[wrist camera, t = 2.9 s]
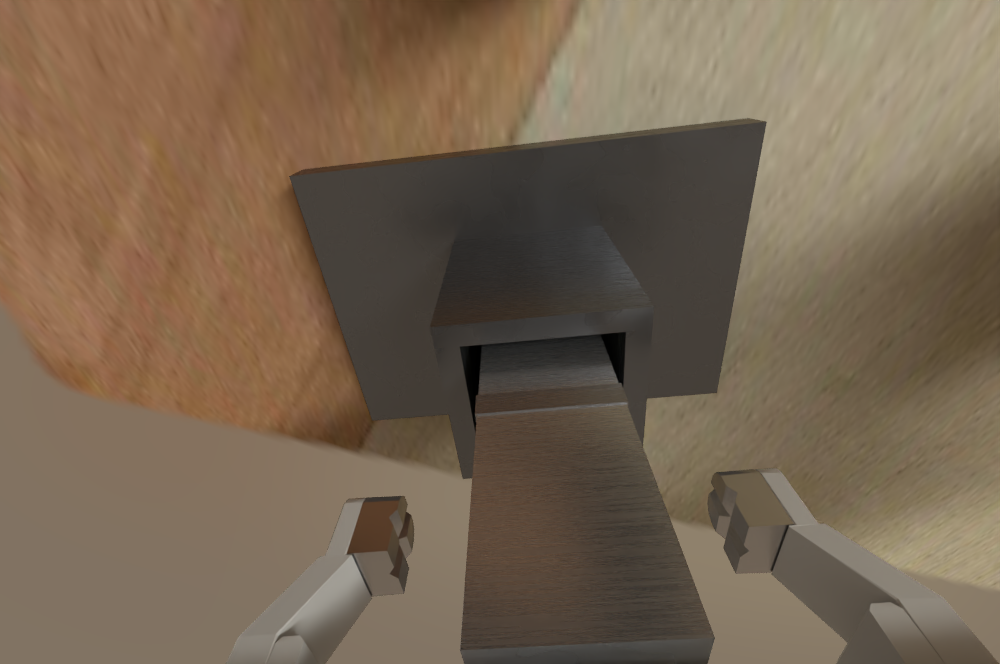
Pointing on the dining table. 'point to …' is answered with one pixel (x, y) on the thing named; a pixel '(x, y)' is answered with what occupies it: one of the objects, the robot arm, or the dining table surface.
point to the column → (569, 521)
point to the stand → (536, 261)
